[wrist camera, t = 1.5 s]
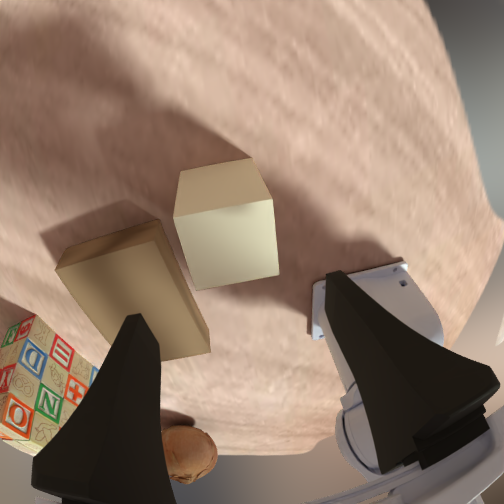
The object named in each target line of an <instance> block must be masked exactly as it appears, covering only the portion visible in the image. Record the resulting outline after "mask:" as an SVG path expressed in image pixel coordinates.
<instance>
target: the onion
mask: <svg viewBox="0 0 504 504" xmlns="http://www.w3.org/2000/svg"><path fill="white" fill-rule="evenodd" d="M161 434H162V442H163V448H164V454H165V460H166V465H167V470H168V474H169V475H170V476H172V477H170V479H172V480H176V481H179V482H180V483H184V484H189V483H192V482H195V480H197V479H198V478H200V477H202V476H204V475H206V474H207V473H209V472H210V471H211V470H212V469H213V468H214V466H215V464H216V461H217V448H216V445H215V443H214V441H213V440H212V438H211V437H210V436H209V435H208V434H207V433H204V432H203V431H202V430H200V429H197V428H195V427H192V425H191V426H190V425H181V426H174V425H172V426H171V427H170V428H169V429H167V430H166V429H163V430H162V432H161Z"/></svg>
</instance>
